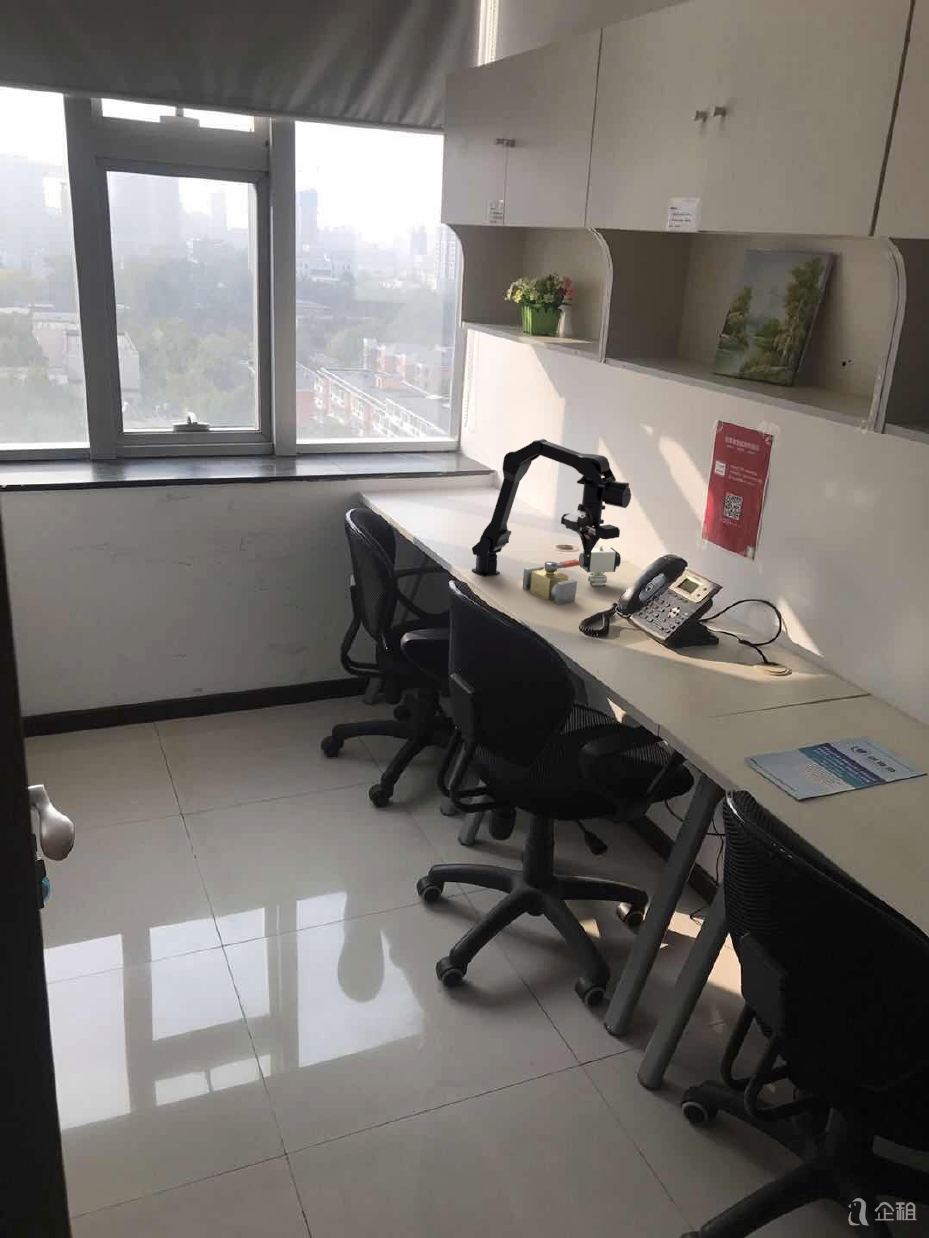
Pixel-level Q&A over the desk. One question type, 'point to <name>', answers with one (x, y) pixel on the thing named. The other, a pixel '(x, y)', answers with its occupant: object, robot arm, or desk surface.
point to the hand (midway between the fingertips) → (586, 554)
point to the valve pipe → (549, 585)
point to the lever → (560, 565)
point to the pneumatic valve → (599, 564)
